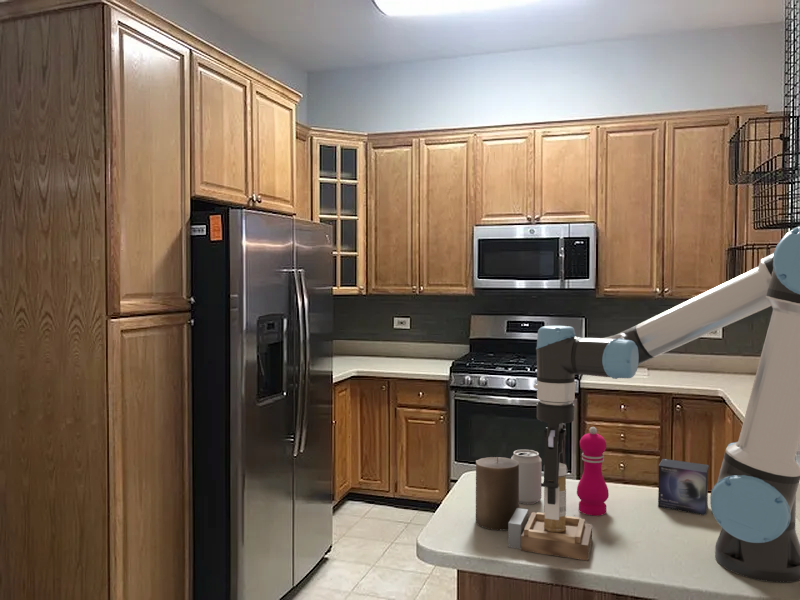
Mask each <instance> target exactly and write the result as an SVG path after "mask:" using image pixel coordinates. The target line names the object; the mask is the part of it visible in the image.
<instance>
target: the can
mask: <svg viewBox="0 0 800 600" xmlns="http://www.w3.org/2000/svg"><path fill="white" fill-rule="evenodd" d="M510 459H513V460H515V461H517V462H518V463H519V504H521V503H523V504H522V505H534V504H537V503H538V502H539V501H540V500H541V499H542V487H541V483H542V477H543V476H542V473H543V470H542V469H543V468H542V465H543V464H542V462H543V461H542V458H541V457H540V453H539V452H538V451H535V450H533V449H517V450H514V451H513V455H511V458H510ZM536 502H537V503H536ZM533 503H534V504H533Z"/></svg>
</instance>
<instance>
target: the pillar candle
mask: <svg viewBox="0 0 800 600" xmlns="http://www.w3.org/2000/svg"><path fill="white" fill-rule="evenodd" d="M517 508H520V503H519V463H518V462H517V461H515V460H513V459H511V458H508V457H500V456H499V457H498V456H496V457H495V456H494V457H493V456H490V457H482V458H479V459H476V460H475V523H476V524H477V525H478V526H480V527H482V528H485V529H487V530H491V531H492V530H493V531H506V530H508V523H509V521H510V519H511V517H512V516H513V514H514V512H515V510H516V509H517Z"/></svg>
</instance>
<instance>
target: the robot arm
mask: <svg viewBox="0 0 800 600" xmlns="http://www.w3.org/2000/svg"><path fill="white" fill-rule="evenodd" d="M770 307H771V308H772V312H771V316H770V320H769V325H768V328H767V332H766V334H765V335H766V336H765V340H764V343H763V345H762V350H761V355H760V357H759V361H758V365H757V368H756V373H755V377H754V381H753V384H752V388H751V392H750V396H749V399H748V403H747V406H746V410H745V414H744V418H743V422H742V426H741V430H740V433H739V437H738V441H735V442H730V443H728V445H727V447H726V448H725V450H724V455H723V459H722V462H721V467H720V469H719V474H718V478H717V481H716V483H715V484H714V486H713V487H712V489H711V491H710V497H709V498H710V500H709V501H710V510H711V512H712V513H711V514H712V515H713V517H714V519H715V520H716V522H717V523H718V524H719V526H720V527H721V530H720V532H719V535H718V538H717V540H716V542H715V546H714V557H715V560H716V561H717V563H718V564H720V566H722V567H723V568H725V569H727V570H728V571H730V572H733V574H734V573H735V574H737V575H740V576H743V577H746V578H749V579H753V580H756V581H763V582H769V583H793V582H799V581H800V540H799V537H798V534H797V530H796V514H797V512H796V511H797V510H796V508H797V491H798V487H799V485H800V466H799V464H798V463H797V451H798V448H799V444H800V225H798V226H796V227H794V228H792V229H791V230H789V231H788V232H786V233H785V234H784V236H783V237H782V238H780V239H779V242H778V243H777V245H776V246H775V249H774V251H773V252H772V253H771V254H769V255H767V256H765V257H763V258H761V259H760V261H759V263H758V266H756V267H754V268H752V269H750V270H748V271H746V272H744V273H742V274H740V275H738V276H736V277H734V278H732V279H730V280H727V281H725V282H723V283H721V284H719V285H716V286H715V287H712V288H710V289H709V290H707V291H704V292H702V293H700V294H698V295H696V296H694V297H692V298H689V299H688V300H686V301H683V302H681V303H679V304H677V305H675V306H673V307H672V308H670V309H667V310H664V311H663V312H661V313H659V314H656V315H654V316H652V317H651V318H647V319H646V320H644V321H642V322H640V323H638V324H636V325H634V326H632V327H629V328H627V329H625V330H622V331H621V332H619V333H617V334H614V335H610V336H605V337H583V336H576V330H575V328H574V327H573V326H571V325H570V326H569V325H568V326H567V325H544V326H543V325H542V326H541V327H540V328H539V329H538V330H537V340H536V347H535V351H536V383H535V384H534V386H533V389H536V390H537V391H536V398H537V400H538V401H537V402H536V420H537V421H539V422H541V423H546V424H547V427H545V430H544V433H543V441H544V460H543V462H544V465H543V482H541V488H544V487H545V518H546V519H553V520H559V484H558V479H559V463H563V464H565V465H566V466H567V463H566V436H567V429H566V427H567V426H566V424H569V423H570V424H571V423H573V422H574V421H575V404H574V403H573V402H574V401H575V399H576V398H575V397H576V396H575V394H576V390H575V388H576V381H575V375H578V376H582V375H583V376H590V377H591V376H592V377H593V376H594V377H600V378H601V377H604V378H611V379H615V380H617V379H632V378H633V377H635V376H636V373H637V371H638V367H639V365H641V364H643V363H645V362H647V361H649V360H652V359H654V358H657V357H658V356H660V355H663V354H664V353H668V352H669V351H671V350H674V349H677V348H679V347H681V346H684V345H685V344H688V343H689V342H693V341H695V340H697V339H699V338H701V337H704V336H706V335H708V334H710V333H713V332H715V331H717V330H719V329H722V328H724V327H726V326H729V325H731V324H734V323H736V322H738V321H740V320H742V319H744V318H747V317H749V316H751V315H754V314H756V313H759V312H761V311H763V310H765V309H768V308H770ZM568 473H569V469H568V468H567V474H566V475H568ZM548 480H550V481H548Z"/></svg>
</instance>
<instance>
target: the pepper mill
mask: <svg viewBox="0 0 800 600" xmlns="http://www.w3.org/2000/svg"><path fill="white" fill-rule="evenodd" d="M579 448H580V450H581V451H582V453H581V460H582V461H583V473H582V475H581V478H580V480H579V481H578V484H577V487H576V495H577V497H578V498H579V502H578V512H580V513H582V514H584V515H587V516H592V517H593V516H595V517H596V516H597V517H599V516H603V515H605V514H606V513H607V504H606V501H607V500H608V498H609V495H610V494H609V488H608V484H607V483H606V480H605V478H604V476H603V472H602V471H603V470H602V469H603V468H602V465H603V462H604V461H605V459H604V458H605V454H604V452H605V451H606V449H607V441H606V439H605V438H604V437H603V436H602V435H601V434H599V433H598V429H597V428H596V427H595V426H591V427H589V433H588V432H587V433H585V434H584V435H583V436H581V438H580V440H579Z"/></svg>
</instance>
